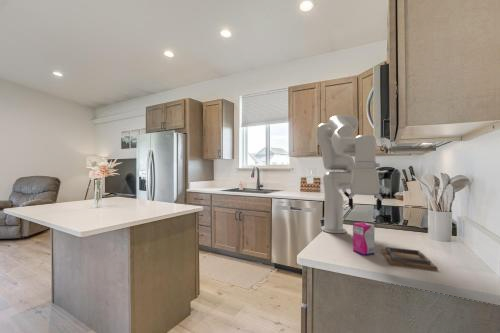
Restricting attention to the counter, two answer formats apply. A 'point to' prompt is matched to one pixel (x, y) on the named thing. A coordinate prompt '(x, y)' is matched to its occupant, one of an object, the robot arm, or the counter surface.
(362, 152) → the robot arm
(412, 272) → the counter surface
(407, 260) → the base board
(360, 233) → the supplement box
